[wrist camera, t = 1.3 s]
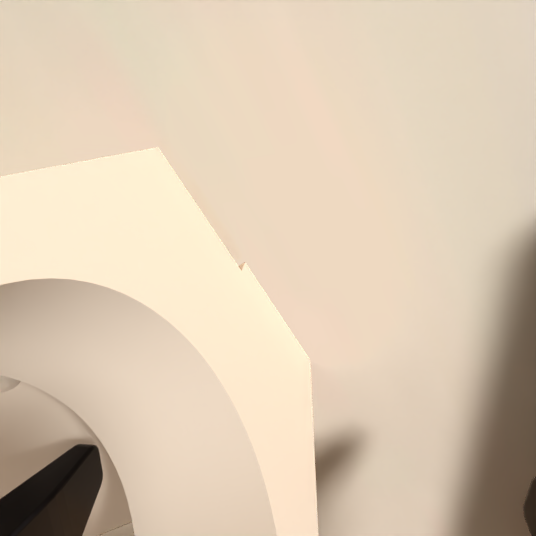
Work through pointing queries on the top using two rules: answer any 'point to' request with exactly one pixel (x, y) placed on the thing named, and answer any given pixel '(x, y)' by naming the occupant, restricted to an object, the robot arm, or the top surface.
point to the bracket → (148, 356)
